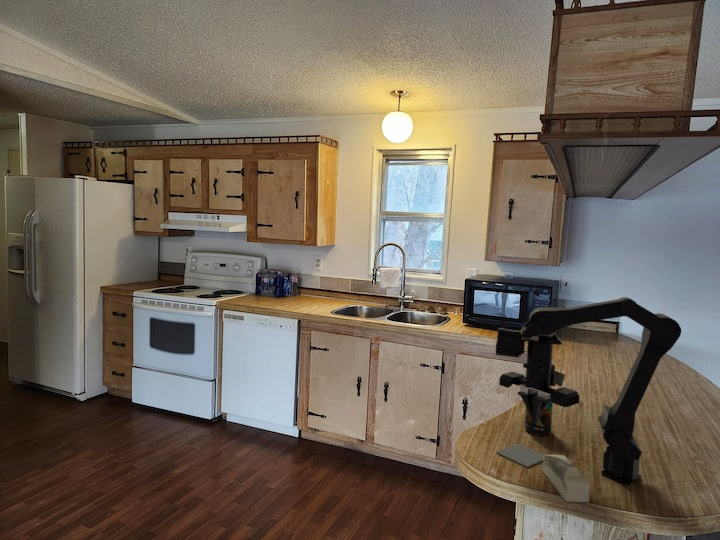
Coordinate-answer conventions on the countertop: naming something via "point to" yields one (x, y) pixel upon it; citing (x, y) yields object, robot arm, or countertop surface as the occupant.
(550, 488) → the countertop surface
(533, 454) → the mat
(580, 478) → the box
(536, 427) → the beverage can
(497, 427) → the countertop surface
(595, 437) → the countertop surface
